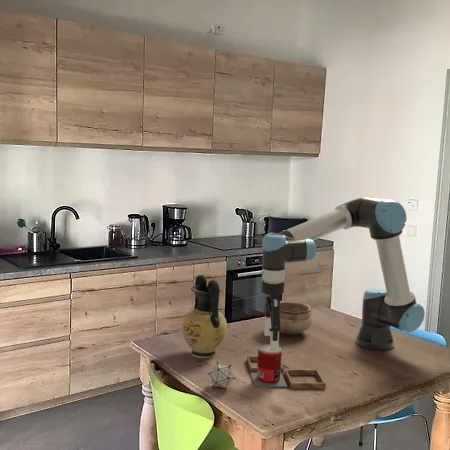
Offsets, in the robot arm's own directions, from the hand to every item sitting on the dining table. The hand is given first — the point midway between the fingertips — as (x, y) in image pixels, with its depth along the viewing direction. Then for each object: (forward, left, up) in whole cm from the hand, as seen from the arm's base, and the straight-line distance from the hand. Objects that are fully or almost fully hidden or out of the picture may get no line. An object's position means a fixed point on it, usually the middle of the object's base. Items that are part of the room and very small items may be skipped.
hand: (271, 342), depth 184 cm
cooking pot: (-16, -50, -14) cm, 55 cm away
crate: (0, -12, -14) cm, 18 cm away
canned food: (0, 0, -13) cm, 13 cm away
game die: (+17, +6, -14) cm, 23 cm away
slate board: (0, 0, -14) cm, 14 cm away
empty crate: (-12, 0, -14) cm, 18 cm away
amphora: (+22, -24, -14) cm, 35 cm away
